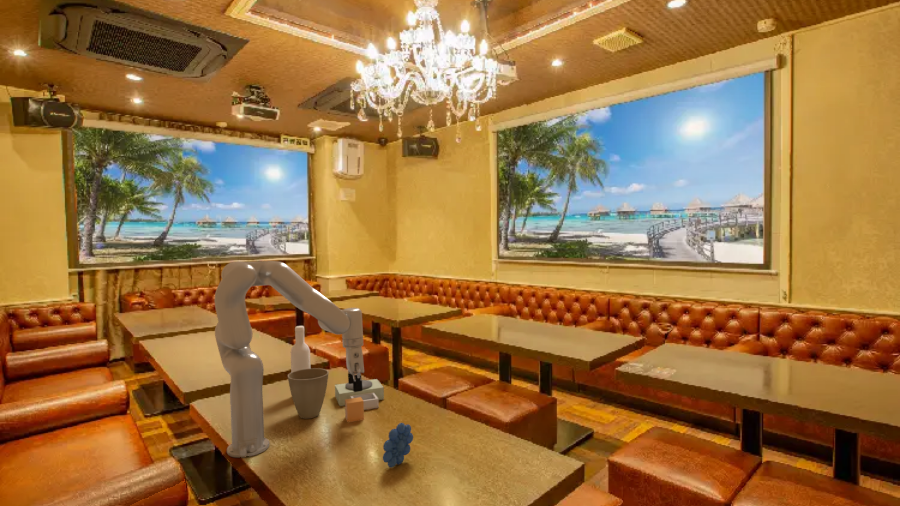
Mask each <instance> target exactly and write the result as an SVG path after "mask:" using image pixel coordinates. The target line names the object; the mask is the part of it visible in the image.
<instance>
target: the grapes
mask: <svg viewBox="0 0 900 506" xmlns="http://www.w3.org/2000/svg"><path fill="white" fill-rule="evenodd" d="M413 440H414V435H413V433H412V427H411V425H410V424H405V423H404V422H399V423H398V424H397V426H396V428H393V429H391V430H389V432H388V439H387V440H386V441H385V442H384V443H383V451H384V453H383V456H382V460H383V462H384V463H387V466H388V468H394V467H395V466H396V465H398V466H399V465H401V464H402V463H403V462H404V460H405V456H407V455H409V453H410V451H411V445H410V444H411V443H413Z"/></svg>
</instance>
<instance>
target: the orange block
mask: <svg viewBox="0 0 900 506" xmlns="http://www.w3.org/2000/svg"><path fill="white" fill-rule="evenodd" d="M344 411H345V412H344V413H345V417H344V418H345V420H346V422H347V423H350V422H351V423H352V422H358V421H363V420H365V410H364V402H363V399H362V398H361V397H358V398H351V399H345V405H344Z"/></svg>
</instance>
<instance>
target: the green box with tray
mask: <svg viewBox="0 0 900 506" xmlns="http://www.w3.org/2000/svg"><path fill="white" fill-rule="evenodd" d="M334 397H335V399H336V401H337V403H338V406H339V407H343V406H344V407H345V399H351V398H358V397H361V398H362V399H363V402H364V411H365V410H371V409H378V408H379V406H380V405H379V403H380V402H379V401H380V400H382V401H383V400H385V390H384V386H383V385H382V384H381V382H380V380H378V379H377V378H376V379H375V378H374V379H373V378H372V379H367V380H366V379H362V391H359V392H354V391H353V384H349V383H348V382H346V383H340V384H339V383H338V384H334Z"/></svg>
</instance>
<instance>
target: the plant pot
mask: <svg viewBox="0 0 900 506" xmlns="http://www.w3.org/2000/svg"><path fill="white" fill-rule="evenodd" d="M287 380H288V387H289V391H290V394H291V398H292V401H293V404H294V407H295V409H296V412H297V415H298V416H299V418H301V419H306V420H308V419H312V418H317V417H318V416H319V415H320V414H321V411H322V407H323V404H324V400H325V397H326V394H327V393H326V392H327V388H328V381H329V370H328V369H325V368H320V367H318V368H316V367H314V368H311V369H302V370H298V371H294V372H289V373H288V374H287Z"/></svg>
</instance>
